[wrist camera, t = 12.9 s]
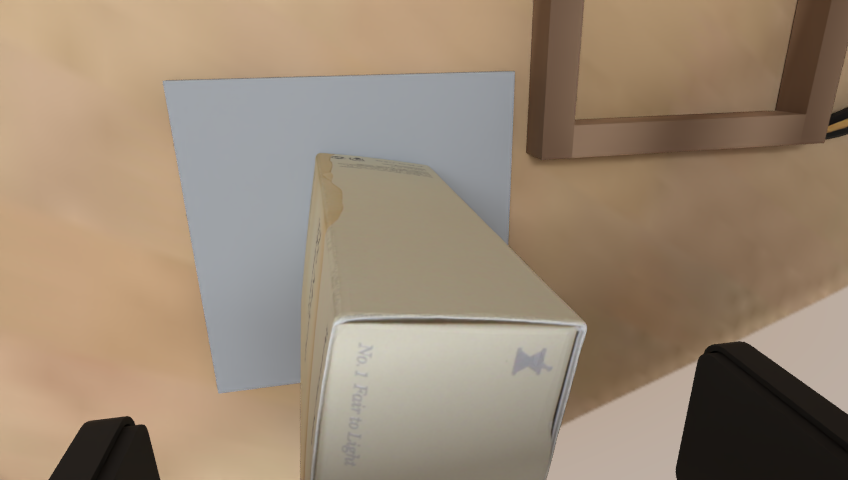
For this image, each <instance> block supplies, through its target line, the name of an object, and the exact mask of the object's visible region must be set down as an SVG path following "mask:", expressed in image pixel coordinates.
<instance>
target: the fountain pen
mask: <svg viewBox="0 0 848 480" xmlns="http://www.w3.org/2000/svg"><path fill="white" fill-rule="evenodd" d="M846 134H848V108H846V109H843V110H841V111H839V112H836V113H834V114H832V115H831V117H830V121H829V125H828V129H827V133H826V137H825V139H830V138H835V137H840V136H843V135H846Z"/></svg>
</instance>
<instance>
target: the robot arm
mask: <svg viewBox="0 0 848 480" xmlns="http://www.w3.org/2000/svg"><path fill="white" fill-rule="evenodd" d="M676 478H677V480H848V414H846V413H845V412H844V411H842V410H841V409H839V408H838V407H836V406H835V405H834V404H832V403H831V402H830V401H828V400H827V399H825V398H824V397H823V396H821V395H820V394H818V393H817V392H816V391H814V390H813V389H811V388H810V387H808V386H807V385H806V384H804V383H803V382H802V381H800V380H799V379H797V378H796V377H795V376H793V375H792V374H790V373H789V372H787V371H786V370H785V369H783V368H782V367H780V366H779V365H778V364H776V363H775V362H773V361H772V360H771V359H769V358H768V357H766V356H765V355H764V354H762V353H761V352H759V351H758V350H757V349H755V348H754V347H752V346H751V345H749V344H747V343H745V342H740V341H739V342H730V343H722V344H714V345H711V346H708V348H707V349H706V350H705V352H704V354H703V355H701V356H700V357H699V359H698V362H697V367H696V372H695V377H694V381H693V387H692V392H691V396H690V401H689V406H688V411H687V416H686V421H685V426H684V431H683V436H682V441H681V445H680V450H679V455H678V460H677V465H676ZM49 480H160V477H159V473H158V469H157V465H156V461H155V457H154V453H153V449H152V445H151V441H150V437H149V433H148V430H147V428H146V426H145V425H142V424H141V425H135V423H134V421H133V419H132V418H131V417H128V416H126V417H118V418H109V419H101V420H93V421H88V422H86V423H84V425H83V426H82V427H81V428H80V430H79V431H78V433H77V435H76V436H75V438H74V440H73V441H72V443H71V444H70V446H69V448H68V449H67V451H66V453H65V454H64V456H63V457H62V459H61V461H60V462H59V464H58V465H57V467H56V469H55V470H54V472H53V474H52V475H51V477H50V478H49Z"/></svg>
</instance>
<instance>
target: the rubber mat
mask: <svg viewBox="0 0 848 480" xmlns="http://www.w3.org/2000/svg"><path fill="white" fill-rule="evenodd" d="M514 83H515V71H493V72H456V73H419V74H382V75H345V76H308V77H271V78H234V79H197V80H166V81H163V85H164V91H165V97H166V102H167V108H168V113H169V119H170V125H171V130H172V136H173V141H174V147H175V153H176V158H177V164H178V169H179V175H180V181H181V186H182V192H183V197H184V203H185V209H186V214H187V220H188V225H189V231H190V237H191V242H192V248H193V253H194V259H195V265H196V270H197V276H198V281H199V287H200V293H201V298H202V304H203V309H204V315H205V321H206V326H207V332H208V337H209V343H210V349H211V354H212V360H213V365H214V371H215V377H216V382H217V388H218V393H226V392H234V391H241V390H249V389H257V388H265V387H272V386H280V385H288V384H295V383H301V297H302V286H303V274H304V262H305V251H306V240H307V230H308V220H309V210H310V201H311V193H312V185H313V176H314V168H315V157H316V155H317V154H318V153H329V154H339V155H351V156H361V157H370V158H377V159H386V160H393V161H400V162H408V163H415V164H421V165H427V166H429V167H430V168H431V169H432V170H433V171H434V172H435V173H436V174H438V176H439V177H440V178H441V179H442V180H443V181H444V182H445V183H446V184H447V185H448V186H449V187H450V188H451V189H452V190H453V191H454V192H455V193H456V194H457V195H458V196H459V197H460V198H461V199H462V200H463V201H464V202H465V203H466V204H467V205H468V206H469V207H470V208H471V209H472V210H473V211H474V212H475V213H476V214H477V215H478V216H479V217H480V218H481V219H482V220H483V221H484V222H485V223H486V224H487V225H488V226H489V227H490V228H491V229H492V230H493V231H494V232H495V233H496V234H497V235H498V236H499V237H500V238H501V239H502V240H503V241H504V242H505V243H506V244H507V245H508V236H509V211H510V185H511V160H512V134H513V108H514Z"/></svg>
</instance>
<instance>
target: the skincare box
mask: <svg viewBox="0 0 848 480" xmlns="http://www.w3.org/2000/svg"><path fill="white" fill-rule="evenodd" d="M586 332H587V325H586V323H585V322H584V321H583V320H582V318H580V317H579V316H578V315H577V314H576V313H575V312H574V311H573V310H572V309H571V308H570V307H569V306H568V305H567V304H566V303H565V302H564V301H563V300H562V299H561V298H560V297H559V296H558V295H557V294H556V293H555V292H554V291H553V290H552V289H551V288H550V287H549V286H548V285H547V284H546V283H545V282H544V281H543V280H542V279H541V278H540V277H539V276H538V275H537V274H536V273H535V272H534V271H533V270H532V269H531V268H530V267H529V266H528V265H527V264H526V263H525V262H524V261H523V260H522V259H521V258H520V257H519V256H518V255H517V254H516V253H515V252H514V251H513V250H512V249H511V248H510V247H509V246H508V245H507V244H506V243H505V242H504V241H503V240H502V239H501V238H500V237H499V236H498V235H497V234H496V233H495V232H494V231H493V230H492V229H491V228H490V227H489V226H488V225H487V224H486V223H485V222H484V221H483V220H482V219H481V218H480V217H479V216H478V215H477V214H476V213H475V212H474V211H473V210H472V209H471V208H470V207H469V206H468V205H467V204H466V203H465V202H464V201H463V200H462V199H461V198H460V197H459V196H458V195H457V194H456V193H455V192H454V191H453V190H452V189H451V188H450V187H449V186H448V185H447V184H446V183H445V182H444V181H443V180H442V179H441V178H440V177H439V176H438V174H436V173H435V172H434V171H433V170H432V169H431V168H430V167H429V166H427V165H421V164H415V163H408V162H400V161H393V160H386V159H377V158H370V157H361V156H351V155H339V154H329V153H318V154H317V155H316V157H315V168H314V176H313V185H312V193H311V201H310V210H309V220H308V230H307V240H306V251H305V262H304V274H303V286H302V297H301V385H300V390H301V410H300V444H301V453H300V480H546V478H547V475H548V472H549V468H550V464H551V461H552V457H553V453H554V449H555V444H556V440H557V436H558V433H559V430H560V426H561V423H562V419H563V415H564V412H565V406H566V403H567V400H568V397H569V394H570V388H571V386H572V383H573V378H574V374H575V371H576V368H577V364H578V359H579V355H580V352H581V348H582V345H583V342H584V339H585V335H586Z"/></svg>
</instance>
